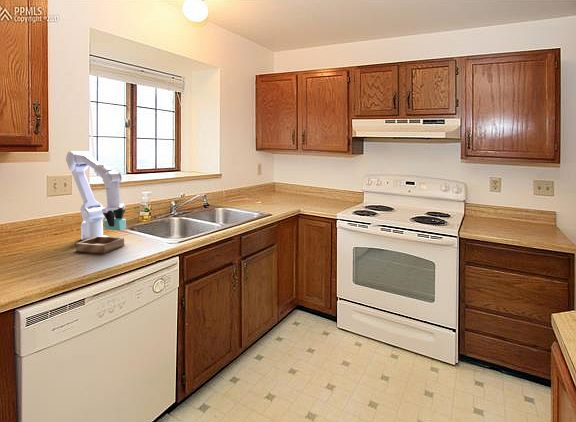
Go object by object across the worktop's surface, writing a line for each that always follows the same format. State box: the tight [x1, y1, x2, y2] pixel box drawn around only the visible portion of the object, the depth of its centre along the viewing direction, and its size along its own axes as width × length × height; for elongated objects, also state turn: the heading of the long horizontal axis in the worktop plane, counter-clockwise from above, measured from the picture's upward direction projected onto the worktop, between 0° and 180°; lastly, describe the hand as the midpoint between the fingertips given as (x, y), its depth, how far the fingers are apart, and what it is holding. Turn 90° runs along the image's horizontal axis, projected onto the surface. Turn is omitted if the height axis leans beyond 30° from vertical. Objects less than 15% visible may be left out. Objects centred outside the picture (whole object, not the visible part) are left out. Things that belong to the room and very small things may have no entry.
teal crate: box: [103, 217, 127, 231], centre depth 183 cm, size 8×5×4 cm, turn 79°
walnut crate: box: [75, 235, 125, 254], centre depth 174 cm, size 14×14×4 cm
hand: (115, 225), depth 183 cm, fingers closed on teal crate, 5 cm apart
